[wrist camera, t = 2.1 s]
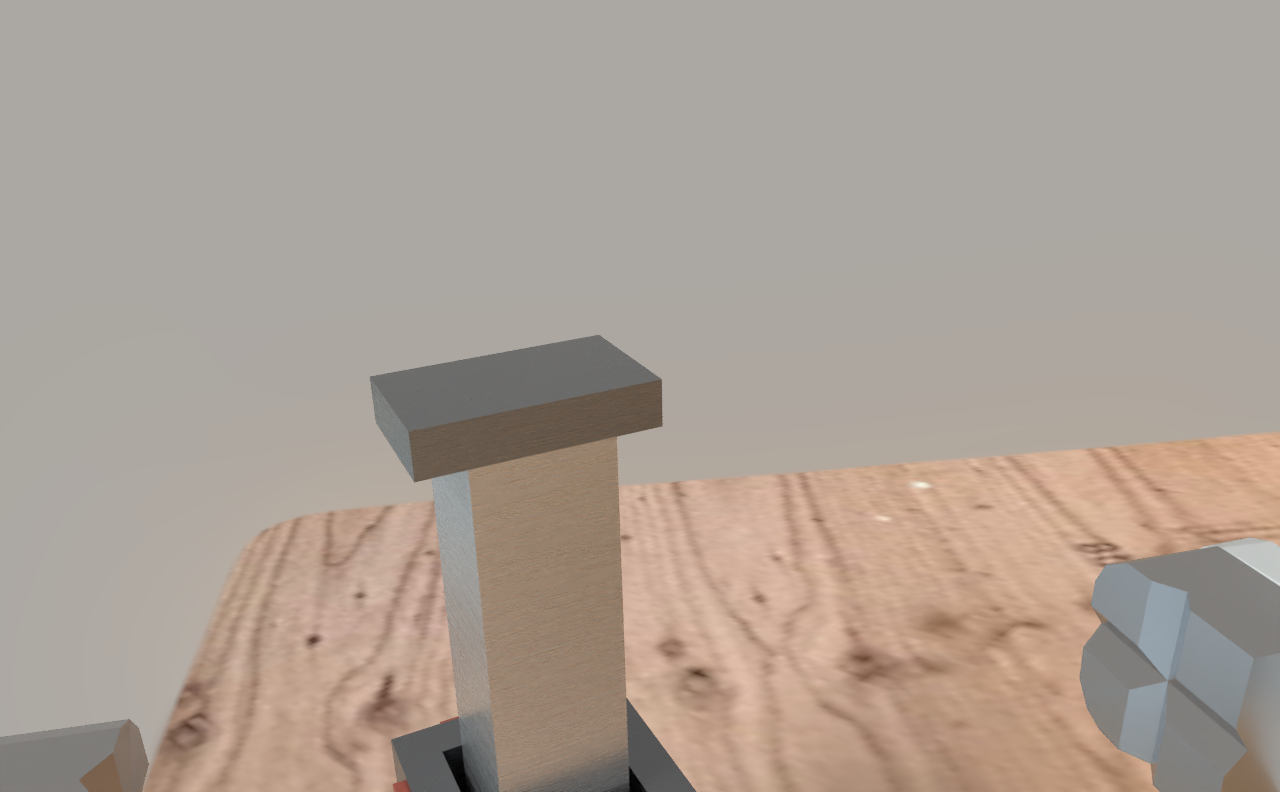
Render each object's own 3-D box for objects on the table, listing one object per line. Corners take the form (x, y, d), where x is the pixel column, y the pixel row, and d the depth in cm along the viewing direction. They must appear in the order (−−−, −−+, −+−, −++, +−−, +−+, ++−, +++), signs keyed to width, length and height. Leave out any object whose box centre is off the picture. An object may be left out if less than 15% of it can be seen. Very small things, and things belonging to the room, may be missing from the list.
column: (624, 979, 31) (597, 333, 23) (675, 1075, 28) (664, 381, 20) (459, 1055, 29) (368, 375, 21) (497, 1165, 26) (410, 433, 18)
